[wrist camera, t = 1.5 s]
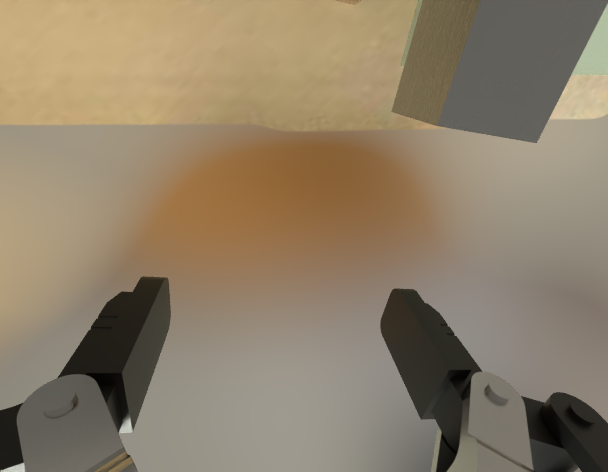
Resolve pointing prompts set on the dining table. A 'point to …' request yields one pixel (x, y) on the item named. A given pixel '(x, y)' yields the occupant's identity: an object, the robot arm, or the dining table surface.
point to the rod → (493, 63)
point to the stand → (350, 1)
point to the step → (594, 60)
